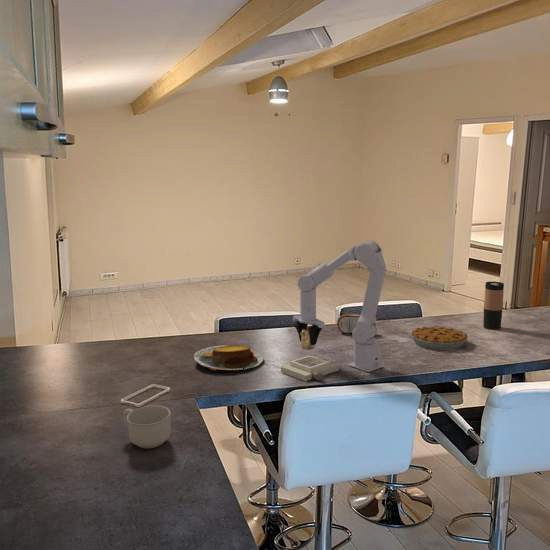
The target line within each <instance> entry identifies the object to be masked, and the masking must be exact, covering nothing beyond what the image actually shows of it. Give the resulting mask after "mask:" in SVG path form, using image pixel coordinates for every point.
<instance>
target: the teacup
mask: <svg viewBox="0 0 550 550" xmlns="http://www.w3.org/2000/svg"><path fill="white" fill-rule="evenodd" d="M171 415H172V414H171V410H170V409H169V408H168V407H166V406H163V405H157V404H152V405H151V404H150V405H142V406H140V407H137V408H135V409H132V408H127V409H125V410H124V411H123V413H122V417H123V418H122V419H123V421H124V422H125V424H126V425H127V431H128V437H129V440H130V441H131V443H133V444H134V445H135V446H138V447H139V448H142V449H147V450H148V449H154V448H155V449H156V448H158V447H159V446H162V445H163V444H164V443H165V442H166V441H167V440H168V439H169V437H170V435H171V431H172V430H171V429H172V428H171V427H172V425H171V422H172V421H171V420H172V419H171Z"/></svg>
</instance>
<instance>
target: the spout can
mask: <svg viewBox="0 0 550 550" xmlns="http://www.w3.org/2000/svg"><path fill="white" fill-rule="evenodd" d="M300 335H301V342H300V343H301V349H302V350H308V351H311V350H315V349H316V345H311V342H310V333H309V330H308V327H307V328H302V329H301V333H300Z"/></svg>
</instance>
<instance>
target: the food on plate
mask: <svg viewBox="0 0 550 550" xmlns="http://www.w3.org/2000/svg"><path fill="white" fill-rule="evenodd" d="M193 354H194V355H193V359H194V360H195V361H196V362H197V363H198V364H199V365H200V366H202V367H204V368H208V369H209V370H211V371H218V370H219V371H221V370H222V371H223V370H224V371H240V370H247V369H250V368H255V367H257V366H260V365H261V363H262V362H263V361H264V357H263V356H262V355H261V354H260V353H258V352H257V351H254V350H253V349H251V347H250V346H249V345H240V346H239V345H223V344H222V345H214V346H209V347H206V348H202V349H199V350H198V351H196V352H194V353H193ZM241 367H242V368H241ZM236 368H237V369H236ZM243 368H244V369H243Z"/></svg>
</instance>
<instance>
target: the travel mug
mask: <svg viewBox="0 0 550 550" xmlns="http://www.w3.org/2000/svg"><path fill="white" fill-rule="evenodd" d="M484 285H485V286H484V288H485V289H484V298H483V299H484V300H483V302H484V303H483V327H482V328H484V329H486V330H490V331H491V330H492V331H499V330H501V328H502V319H503V306H504V286H505V284H504V282H499V281H486V282H485V284H484Z"/></svg>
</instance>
